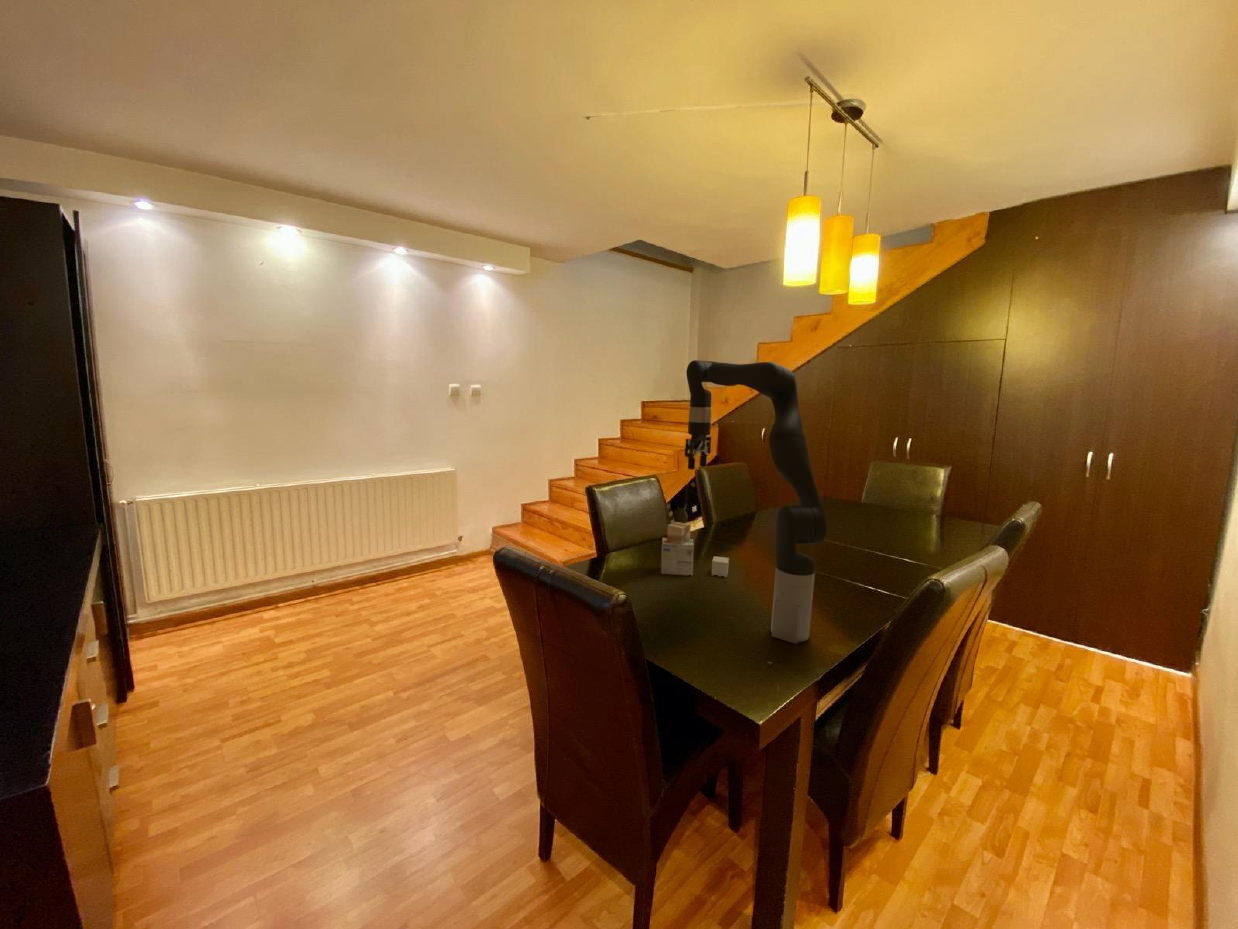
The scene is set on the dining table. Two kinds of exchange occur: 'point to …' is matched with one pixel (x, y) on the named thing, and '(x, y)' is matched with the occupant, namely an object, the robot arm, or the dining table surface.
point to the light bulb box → (677, 558)
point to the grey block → (720, 566)
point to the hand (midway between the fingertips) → (697, 467)
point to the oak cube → (678, 533)
